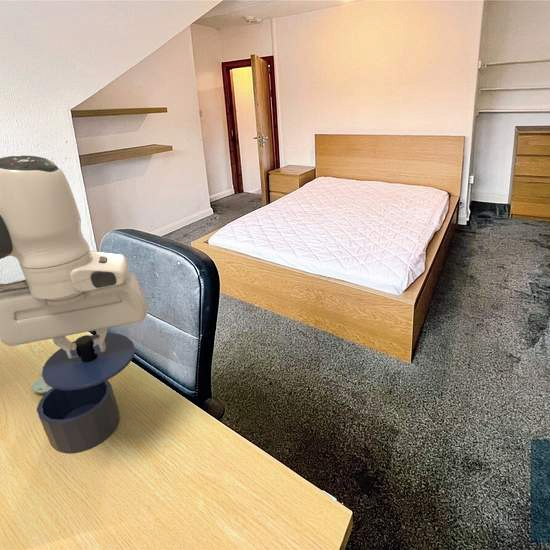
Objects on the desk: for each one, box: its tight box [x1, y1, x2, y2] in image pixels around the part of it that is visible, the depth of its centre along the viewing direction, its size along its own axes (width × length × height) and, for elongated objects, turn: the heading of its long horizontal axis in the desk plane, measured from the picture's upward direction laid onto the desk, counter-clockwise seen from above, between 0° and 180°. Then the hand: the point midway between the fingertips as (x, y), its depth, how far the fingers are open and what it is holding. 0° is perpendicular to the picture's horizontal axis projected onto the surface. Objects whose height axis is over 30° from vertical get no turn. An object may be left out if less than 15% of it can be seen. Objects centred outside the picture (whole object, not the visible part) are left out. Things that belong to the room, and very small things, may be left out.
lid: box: [42, 332, 136, 390], centre depth 64 cm, size 14×14×5 cm
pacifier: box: [30, 366, 52, 394], centre depth 89 cm, size 7×6×6 cm
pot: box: [36, 379, 121, 454], centre depth 77 cm, size 13×13×8 cm
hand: (88, 353), depth 64 cm, fingers closed on lid, 2 cm apart
